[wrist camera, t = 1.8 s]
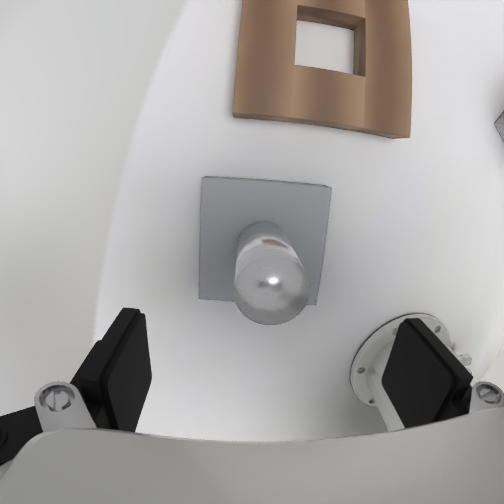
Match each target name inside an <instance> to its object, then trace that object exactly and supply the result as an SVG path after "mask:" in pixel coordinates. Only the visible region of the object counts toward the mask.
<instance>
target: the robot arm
mask: <svg viewBox="0 0 504 504" xmlns="http://www.w3.org/2000/svg"><path fill="white" fill-rule="evenodd" d="M450 346H451V342H450V336H449V333H448V330H447V329H446V328H445V326H444V325H443V324H442V323H441V322H440V321H439V320H438V319H436V318H434V317H432V316H430V315H426V314H411V315H407V316H403V317H400V318H398V319H395V320H393V321H391V322H390V323H388V324H386V325H384V326H383V327H382V328H380V329H379V330H378V331H376V332H375V333H374V334H373V335H372V336H371V337H370V338H369V339H368V340H367V341H366V342H365V343H364V345H363V346H362V347H361V349H360V350H359V352H358V354H357V355H356V357H355V359H354V362H353V365H352V368H351V375H350V378H351V385H352V387H353V390H354V392H355V394H356V396H357V397H358V398H359V399H360V400H361V401H362V402H363V403H365V404H367V405H369V406H373V407H377V408H378V410H379V412H380V414H381V416H382V418H383V421H384V423H385V425H386V427H387V429H388V431H387V432H381V433H374V434H367V435H360V436H352V437H343V438H332V439H320V440H305V441H280V442H240V441H216V440H201V439H189V438H178V437H169V436H161V435H152V434H143V433H135V430H136V427H137V424H138V420H139V417H140V414H141V411H142V408H143V405H144V402H145V399H146V396H147V393H148V390H149V387H150V384H151V379H152V372H151V365H150V357H149V348H148V339H147V329H146V318H145V314H142V313H140V310H139V309H133V308H123V309H122V310H121V311H120V313H119V314H118V316H117V317H116V319H115V320H114V322H113V323H112V325H111V326H110V328H109V329H108V331H107V332H106V334H105V335H104V337H103V338H102V340H99V341H97V342H96V343H95V345H94V346H93V348H92V349H91V351H90V352H89V354H88V355H87V357H86V359H85V360H84V362H83V363H82V365H81V366H80V368H79V369H78V371H77V373H76V374H75V376H74V377H73V379H72V381H71V382H70V383H66V382H51V383H49V384H46V385H44V386H43V387H41V388H40V389H39V390H38V391H37V393H36V395H35V398H34V401H35V406H33V407H30V408H26V409H23V410H20V411H17V412H14V413H10V414H7V415H3V416H0V504H504V393H503V392H502V390H501V389H500V388H499V387H497V386H496V385H494V384H492V383H490V382H478V383H476V382H475V381H474V379H473V376H472V374H471V370H470V369H469V368H465V367H464V366H467V365H470V363H471V356H470V355H469V354H465V355H460V356H457V355H456V354H455V352H454V351H453V350H452V349H451V348H450Z"/></svg>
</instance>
